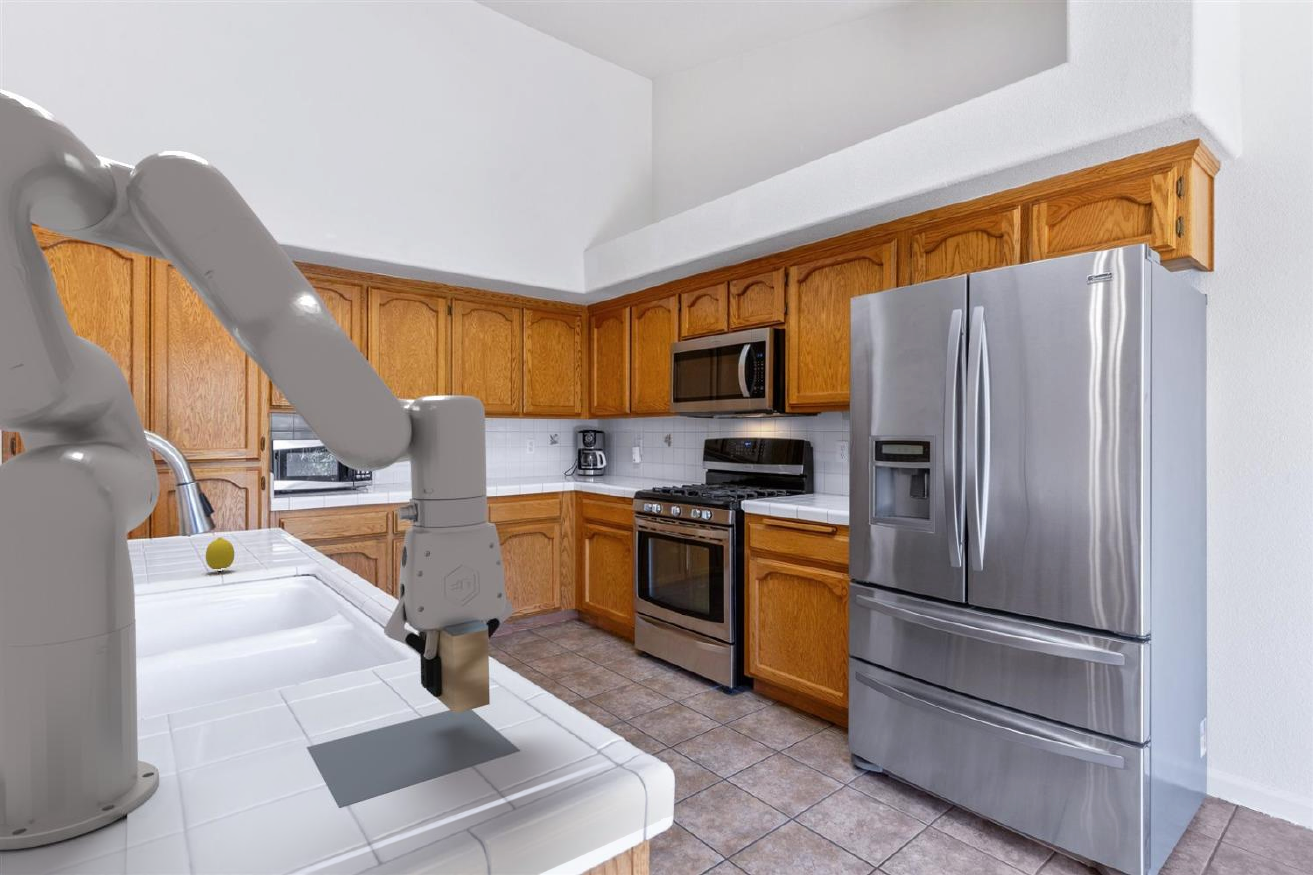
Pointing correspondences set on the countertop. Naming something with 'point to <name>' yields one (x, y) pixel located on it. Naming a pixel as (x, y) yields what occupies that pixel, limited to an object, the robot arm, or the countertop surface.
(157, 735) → the countertop surface
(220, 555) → the lemon
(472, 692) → the oak slab
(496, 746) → the mat
